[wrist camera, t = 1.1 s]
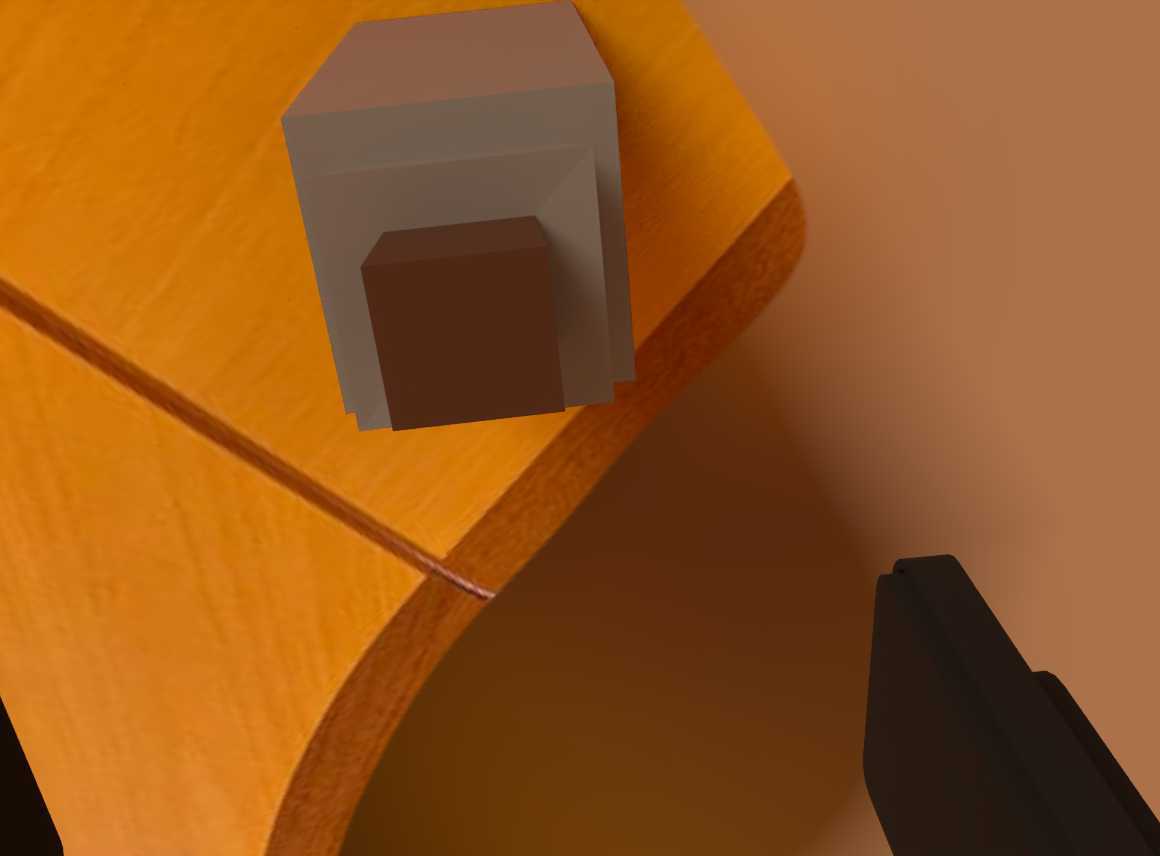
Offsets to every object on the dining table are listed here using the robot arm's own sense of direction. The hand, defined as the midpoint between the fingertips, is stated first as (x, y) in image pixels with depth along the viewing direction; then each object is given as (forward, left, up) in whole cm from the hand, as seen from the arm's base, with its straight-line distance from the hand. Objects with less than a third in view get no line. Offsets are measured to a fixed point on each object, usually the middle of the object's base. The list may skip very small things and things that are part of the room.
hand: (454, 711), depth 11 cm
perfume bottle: (0, 0, -27) cm, 27 cm away
